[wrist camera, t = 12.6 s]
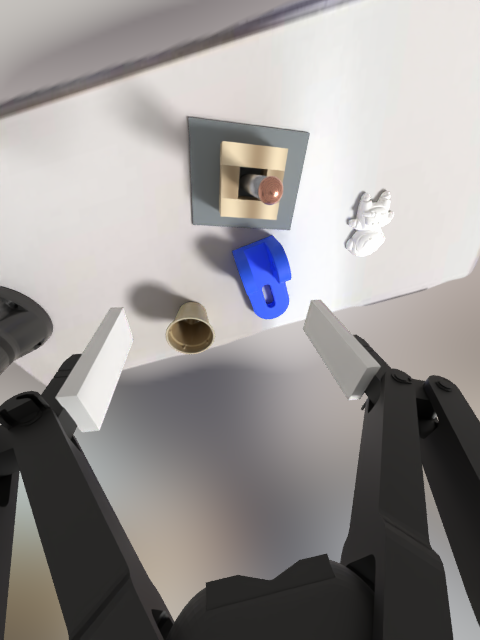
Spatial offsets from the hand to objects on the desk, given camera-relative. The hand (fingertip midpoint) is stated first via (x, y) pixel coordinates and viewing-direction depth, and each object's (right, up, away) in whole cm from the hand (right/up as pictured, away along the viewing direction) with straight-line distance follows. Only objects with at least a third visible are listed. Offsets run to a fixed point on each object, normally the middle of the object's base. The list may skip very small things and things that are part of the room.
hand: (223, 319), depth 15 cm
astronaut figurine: (+27, +19, +27) cm, 43 cm away
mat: (+2, +23, +20) cm, 30 cm away
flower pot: (-10, +2, +34) cm, 35 cm away
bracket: (+6, +8, +31) cm, 33 cm away
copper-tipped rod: (+2, +23, +20) cm, 30 cm away
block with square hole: (+2, +23, +20) cm, 30 cm away
